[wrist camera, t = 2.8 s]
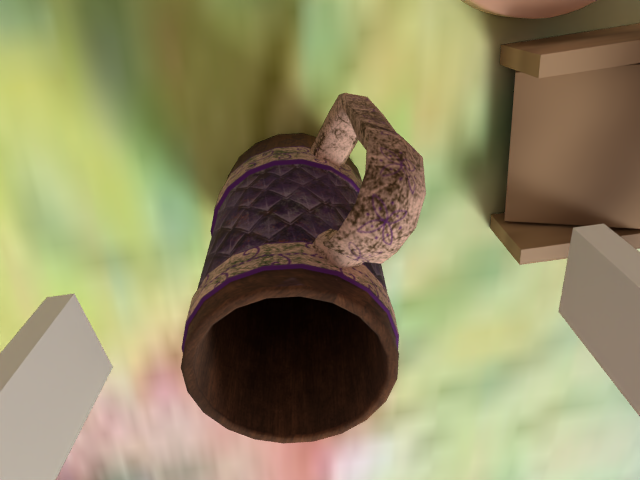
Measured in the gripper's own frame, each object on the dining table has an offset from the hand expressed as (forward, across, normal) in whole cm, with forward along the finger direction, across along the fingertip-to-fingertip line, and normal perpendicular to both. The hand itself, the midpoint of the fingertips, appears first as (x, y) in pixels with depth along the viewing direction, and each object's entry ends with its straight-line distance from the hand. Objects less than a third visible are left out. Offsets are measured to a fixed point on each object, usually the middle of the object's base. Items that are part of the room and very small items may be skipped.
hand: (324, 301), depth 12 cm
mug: (+11, 0, 0) cm, 11 cm away
